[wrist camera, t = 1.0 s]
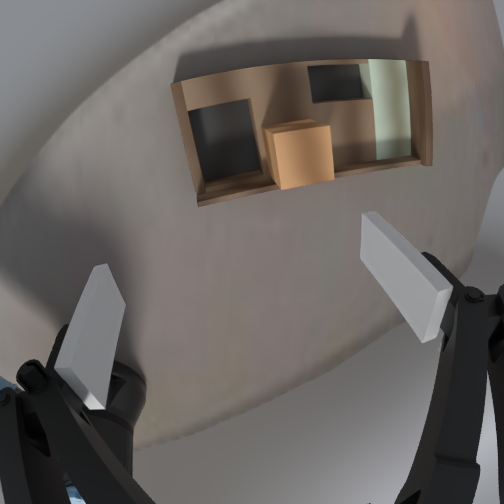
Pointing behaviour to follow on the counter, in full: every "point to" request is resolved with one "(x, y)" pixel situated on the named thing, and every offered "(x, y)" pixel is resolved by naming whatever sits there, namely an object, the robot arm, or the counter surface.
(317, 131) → the block
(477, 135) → the counter surface
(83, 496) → the robot arm
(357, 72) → the tray
